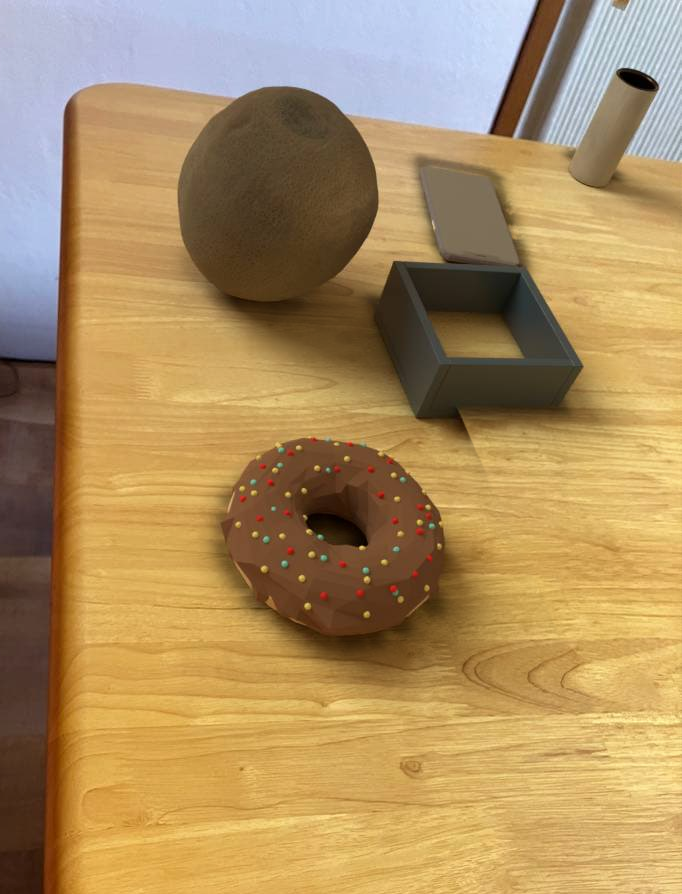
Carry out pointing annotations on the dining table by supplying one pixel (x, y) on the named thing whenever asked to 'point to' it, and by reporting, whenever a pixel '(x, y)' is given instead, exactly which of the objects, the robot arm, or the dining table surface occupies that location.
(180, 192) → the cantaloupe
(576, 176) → the beige hollow cylinder
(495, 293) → the bin
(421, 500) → the donut
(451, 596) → the dining table surface
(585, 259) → the dining table surface
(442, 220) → the smartphone
